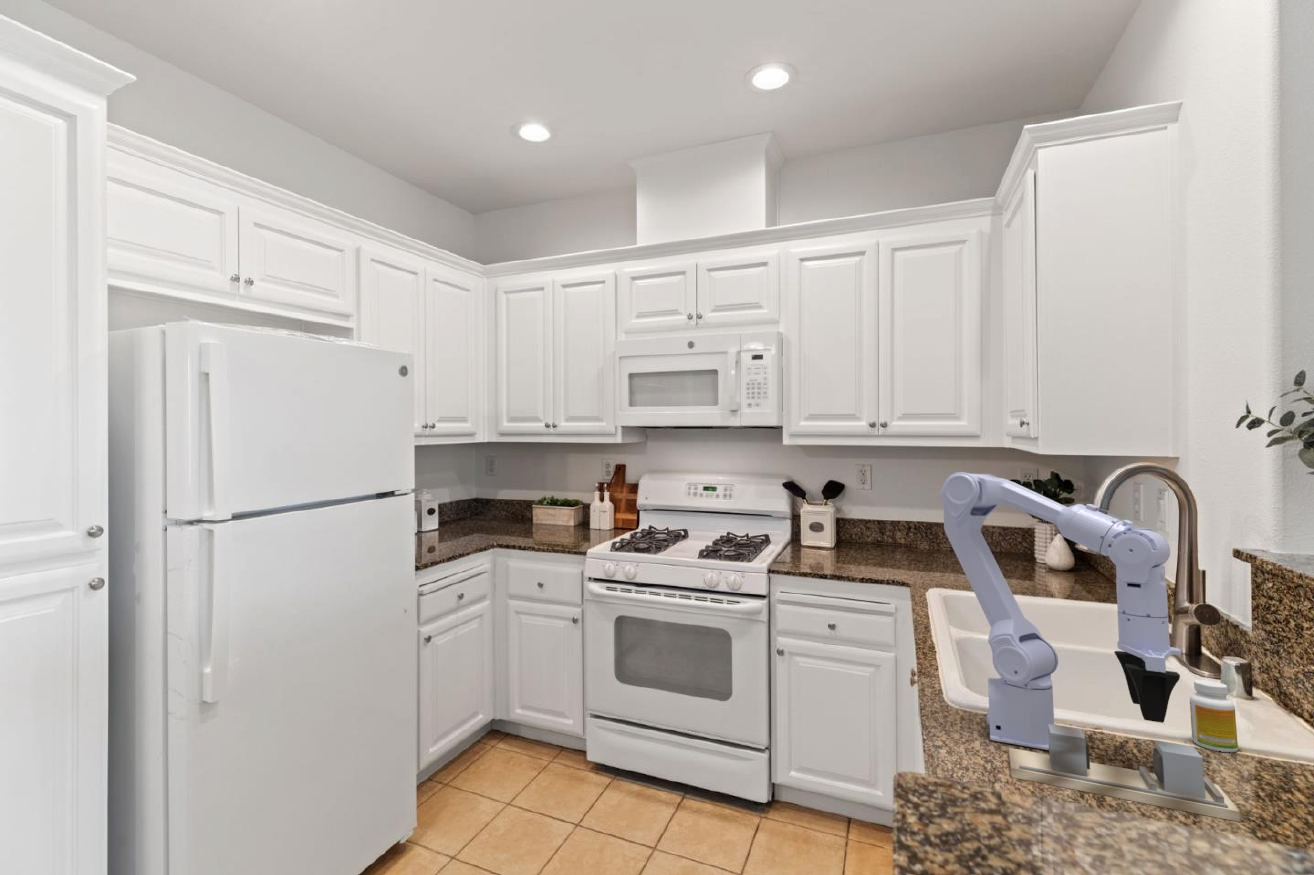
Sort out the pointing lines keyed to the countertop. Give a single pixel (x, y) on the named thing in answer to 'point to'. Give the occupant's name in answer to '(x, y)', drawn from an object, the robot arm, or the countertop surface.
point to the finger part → (1179, 769)
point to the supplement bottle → (1213, 717)
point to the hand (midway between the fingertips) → (1147, 712)
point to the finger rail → (1109, 776)
